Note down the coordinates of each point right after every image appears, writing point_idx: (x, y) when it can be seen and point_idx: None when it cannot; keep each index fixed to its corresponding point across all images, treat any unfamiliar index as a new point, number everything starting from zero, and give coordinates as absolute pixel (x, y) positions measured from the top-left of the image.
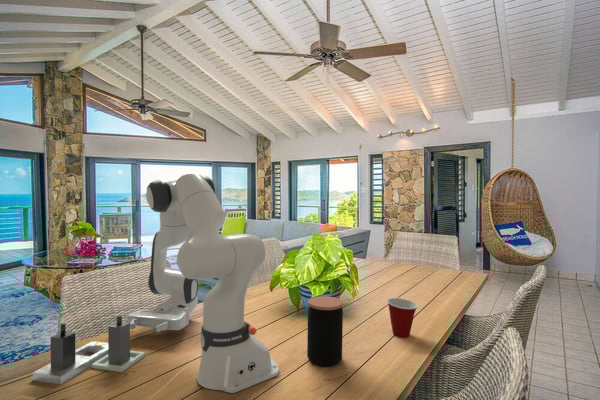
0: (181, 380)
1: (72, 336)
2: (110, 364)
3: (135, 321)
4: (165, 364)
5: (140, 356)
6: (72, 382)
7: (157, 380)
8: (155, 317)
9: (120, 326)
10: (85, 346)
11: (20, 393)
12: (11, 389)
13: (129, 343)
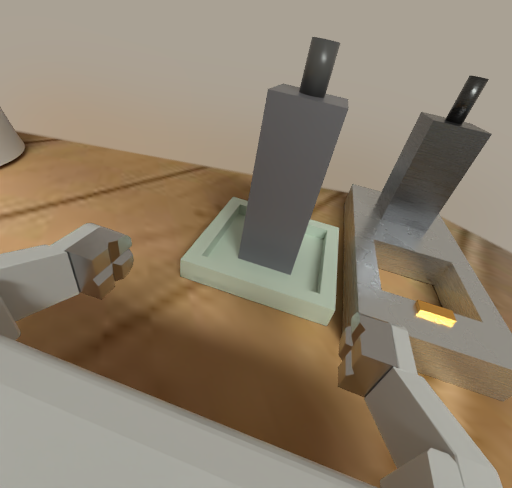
0: (64, 165)
1: (425, 127)
2: None
3: (419, 460)
4: (95, 223)
5: (195, 243)
6: (332, 208)
7: (128, 176)
8: (80, 397)
9: (291, 87)
10: (486, 315)
11: None
12: None
13: (249, 199)
